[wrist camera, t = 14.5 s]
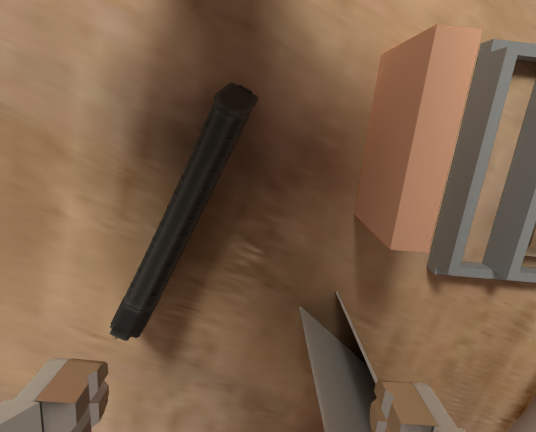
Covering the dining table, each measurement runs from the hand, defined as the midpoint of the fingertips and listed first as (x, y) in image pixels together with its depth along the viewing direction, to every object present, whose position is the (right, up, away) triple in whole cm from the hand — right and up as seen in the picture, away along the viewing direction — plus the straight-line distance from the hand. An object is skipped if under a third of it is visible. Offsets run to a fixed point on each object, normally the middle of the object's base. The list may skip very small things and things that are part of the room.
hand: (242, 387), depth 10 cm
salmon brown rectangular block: (+14, +14, +29) cm, 35 cm away
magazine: (-9, +6, +31) cm, 33 cm away
